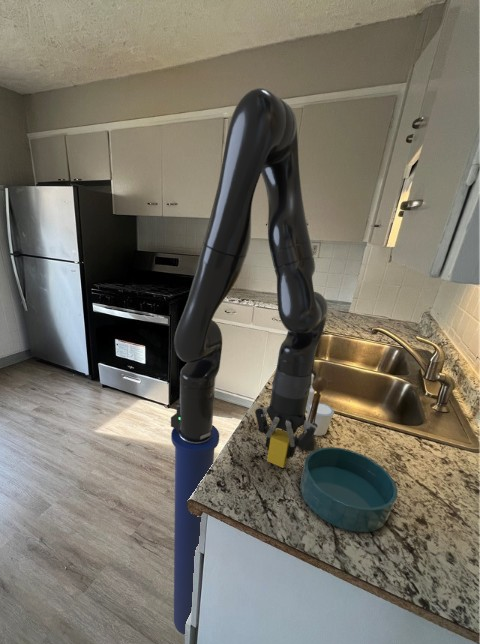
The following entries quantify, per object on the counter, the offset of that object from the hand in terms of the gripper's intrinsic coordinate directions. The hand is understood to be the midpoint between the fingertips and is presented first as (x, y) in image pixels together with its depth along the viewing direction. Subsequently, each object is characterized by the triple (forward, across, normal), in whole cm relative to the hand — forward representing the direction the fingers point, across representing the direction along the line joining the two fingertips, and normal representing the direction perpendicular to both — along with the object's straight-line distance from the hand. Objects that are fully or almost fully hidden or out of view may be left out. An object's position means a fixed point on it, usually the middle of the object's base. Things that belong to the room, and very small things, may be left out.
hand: (279, 452), depth 73 cm
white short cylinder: (+4, -4, -20) cm, 21 cm away
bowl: (+4, -15, +1) cm, 15 cm away
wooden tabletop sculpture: (+4, -4, -12) cm, 13 cm away
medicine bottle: (+4, +4, -31) cm, 32 cm away
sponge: (+2, 0, 0) cm, 2 cm away
